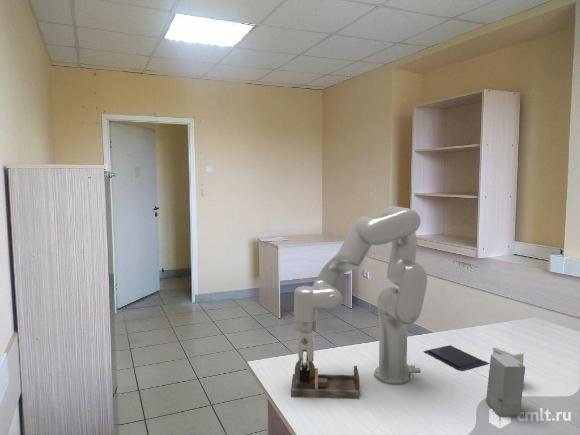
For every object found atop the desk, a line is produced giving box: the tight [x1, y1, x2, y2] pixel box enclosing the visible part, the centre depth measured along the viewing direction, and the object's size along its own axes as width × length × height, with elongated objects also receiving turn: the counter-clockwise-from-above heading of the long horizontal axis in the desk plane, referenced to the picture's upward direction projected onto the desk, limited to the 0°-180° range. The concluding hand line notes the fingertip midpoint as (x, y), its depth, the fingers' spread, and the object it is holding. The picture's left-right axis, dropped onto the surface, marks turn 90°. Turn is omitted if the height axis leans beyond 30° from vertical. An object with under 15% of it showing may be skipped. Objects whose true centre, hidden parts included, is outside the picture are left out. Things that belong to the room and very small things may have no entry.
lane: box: [290, 365, 361, 400], centre depth 144 cm, size 22×12×6 cm, turn 86°
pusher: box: [315, 367, 327, 389], centre depth 144 cm, size 4×9×4 cm, turn 176°
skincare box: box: [485, 353, 526, 417], centre depth 130 cm, size 8×7×16 cm
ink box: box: [492, 344, 524, 365], centre depth 147 cm, size 9×5×12 cm, turn 26°
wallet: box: [423, 344, 490, 372], centre depth 168 cm, size 20×2×15 cm
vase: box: [294, 358, 316, 384], centre depth 144 cm, size 7×7×9 cm
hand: (305, 375), depth 145 cm, fingers closed on vase, 6 cm apart
